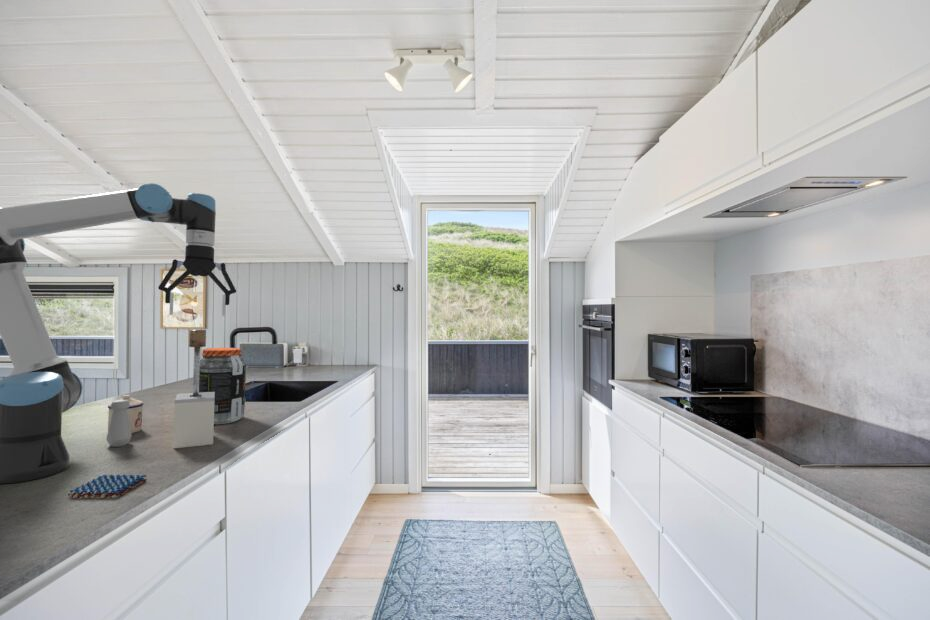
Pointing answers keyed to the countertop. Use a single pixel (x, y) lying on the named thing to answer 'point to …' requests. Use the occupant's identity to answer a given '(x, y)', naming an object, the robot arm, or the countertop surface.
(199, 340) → the wooden block topped rod
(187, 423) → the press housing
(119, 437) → the salt shaker
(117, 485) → the woven mat
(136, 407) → the cream lidded canister
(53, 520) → the countertop surface
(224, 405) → the supplement tub
